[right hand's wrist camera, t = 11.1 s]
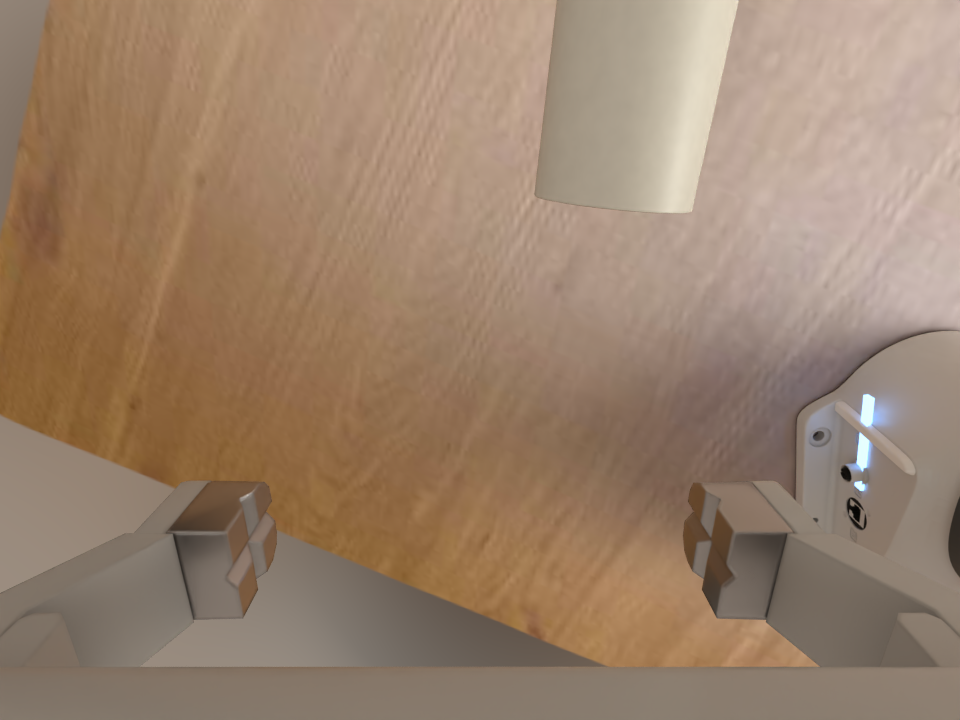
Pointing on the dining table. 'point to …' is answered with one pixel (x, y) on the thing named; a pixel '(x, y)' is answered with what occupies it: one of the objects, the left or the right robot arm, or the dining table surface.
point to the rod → (631, 101)
